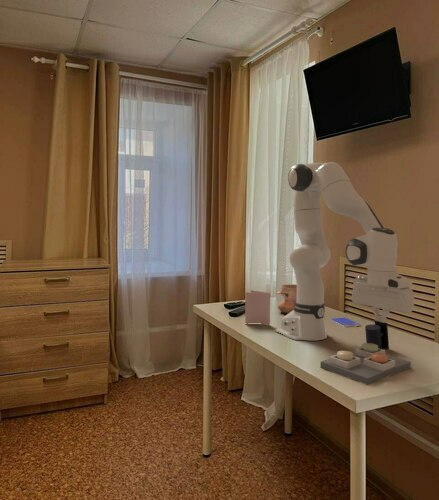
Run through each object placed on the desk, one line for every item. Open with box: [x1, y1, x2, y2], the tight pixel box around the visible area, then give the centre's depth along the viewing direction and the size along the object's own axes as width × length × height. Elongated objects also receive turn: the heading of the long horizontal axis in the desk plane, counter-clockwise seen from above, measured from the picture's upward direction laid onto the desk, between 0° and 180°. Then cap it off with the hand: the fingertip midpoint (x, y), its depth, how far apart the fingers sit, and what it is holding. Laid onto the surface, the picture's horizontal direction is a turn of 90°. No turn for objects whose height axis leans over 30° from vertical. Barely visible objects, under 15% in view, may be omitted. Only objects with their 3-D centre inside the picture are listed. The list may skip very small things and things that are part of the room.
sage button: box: [362, 342, 378, 353], centre depth 147 cm, size 5×5×2 cm
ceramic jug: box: [276, 283, 297, 315], centre depth 220 cm, size 18×14×14 cm
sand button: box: [336, 350, 353, 362], centre depth 139 cm, size 5×5×2 cm
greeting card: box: [244, 290, 271, 325], centre depth 197 cm, size 11×7×15 cm, turn 47°
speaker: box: [364, 320, 390, 350], centre depth 162 cm, size 8×6×10 cm
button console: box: [319, 346, 412, 386], centre depth 141 cm, size 18×24×4 cm
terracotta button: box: [371, 353, 388, 364], centre depth 137 cm, size 5×5×2 cm
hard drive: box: [330, 317, 361, 328], centre depth 199 cm, size 2×8×12 cm
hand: (380, 321), depth 136 cm, fingers closed
